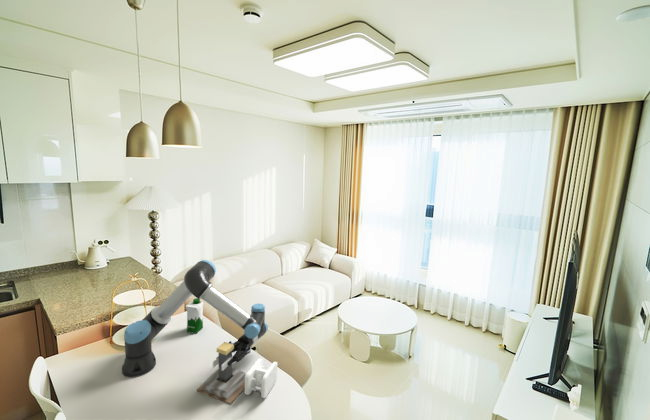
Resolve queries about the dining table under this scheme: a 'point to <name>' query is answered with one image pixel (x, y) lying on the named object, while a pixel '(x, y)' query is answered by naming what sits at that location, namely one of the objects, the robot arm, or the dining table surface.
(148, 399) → the dining table surface
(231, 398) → the socket
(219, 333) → the dining table surface
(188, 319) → the milk carton
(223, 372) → the plug
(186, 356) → the dining table surface
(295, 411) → the dining table surface
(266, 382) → the cable organizer
